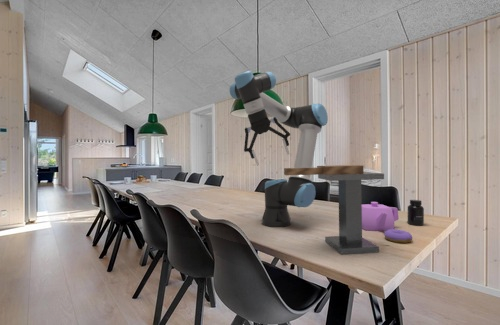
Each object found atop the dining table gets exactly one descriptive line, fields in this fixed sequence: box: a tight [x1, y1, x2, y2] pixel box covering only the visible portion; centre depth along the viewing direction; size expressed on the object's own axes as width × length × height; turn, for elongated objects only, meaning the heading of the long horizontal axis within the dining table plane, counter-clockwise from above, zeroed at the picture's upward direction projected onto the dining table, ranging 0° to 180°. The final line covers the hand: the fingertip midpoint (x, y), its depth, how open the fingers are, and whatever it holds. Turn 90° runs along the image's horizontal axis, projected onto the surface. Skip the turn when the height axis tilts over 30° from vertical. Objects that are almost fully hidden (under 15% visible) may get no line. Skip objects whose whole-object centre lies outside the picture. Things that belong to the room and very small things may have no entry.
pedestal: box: [317, 171, 385, 255], centre depth 95 cm, size 20×14×28 cm
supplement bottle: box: [407, 199, 425, 227], centre depth 125 cm, size 7×7×12 cm
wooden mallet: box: [283, 164, 365, 176], centre depth 94 cm, size 28×9×3 cm, turn 96°
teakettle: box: [362, 201, 400, 232], centre depth 121 cm, size 17×17×12 cm
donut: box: [383, 228, 413, 244], centre depth 102 cm, size 10×9×5 cm
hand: (273, 159), depth 106 cm, fingers open, 13 cm apart
